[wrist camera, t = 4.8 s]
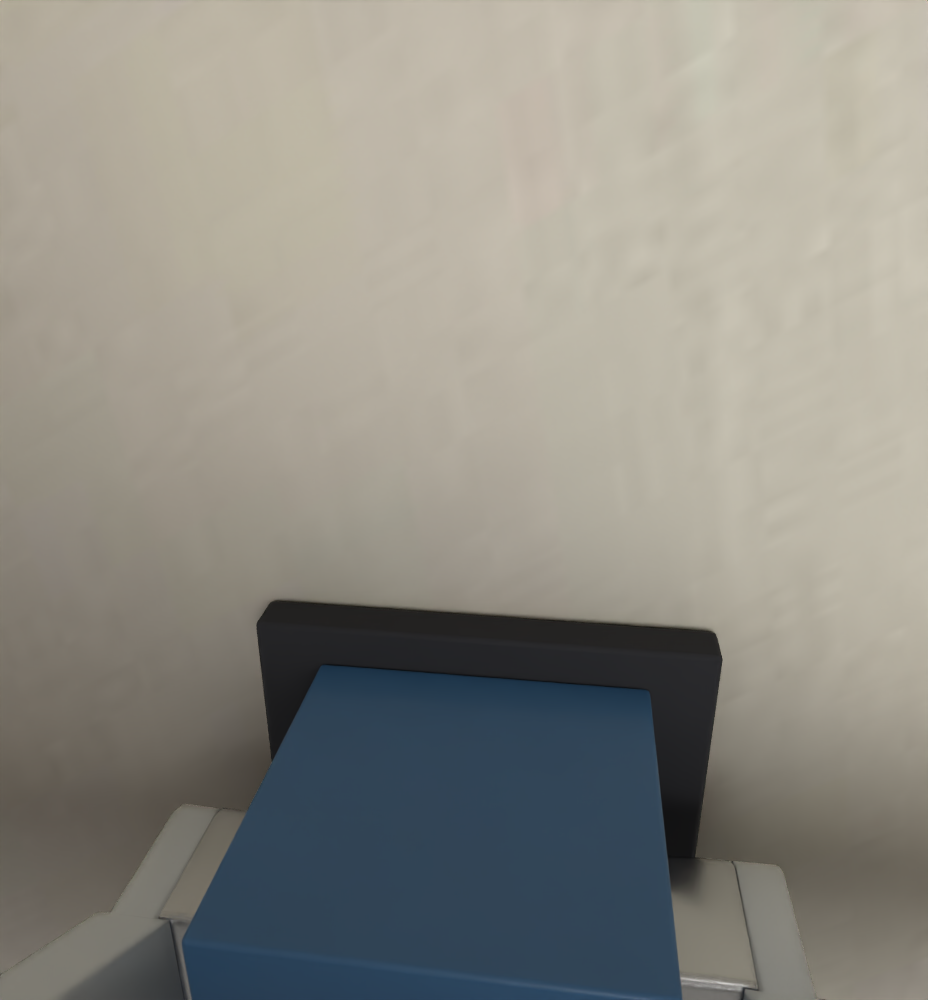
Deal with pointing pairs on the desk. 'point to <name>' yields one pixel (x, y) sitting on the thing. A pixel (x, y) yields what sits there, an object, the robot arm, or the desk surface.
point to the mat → (513, 674)
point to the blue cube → (447, 849)
